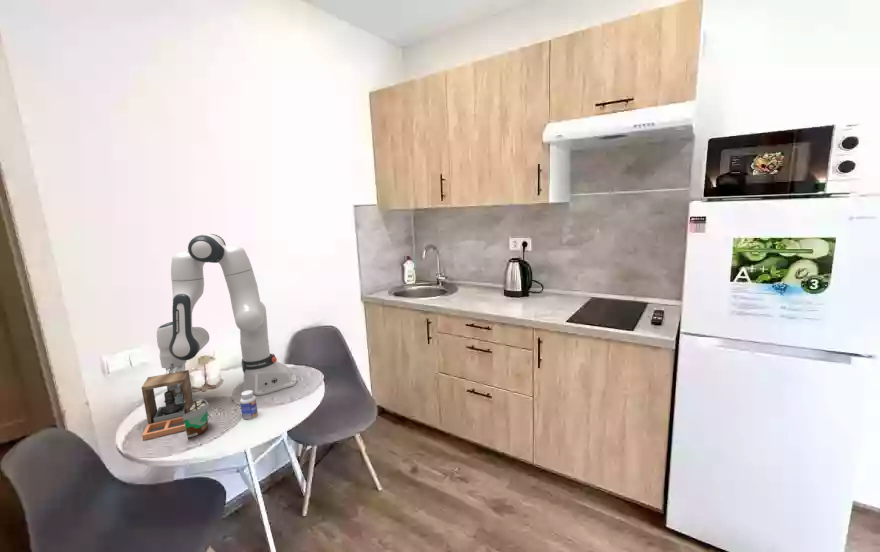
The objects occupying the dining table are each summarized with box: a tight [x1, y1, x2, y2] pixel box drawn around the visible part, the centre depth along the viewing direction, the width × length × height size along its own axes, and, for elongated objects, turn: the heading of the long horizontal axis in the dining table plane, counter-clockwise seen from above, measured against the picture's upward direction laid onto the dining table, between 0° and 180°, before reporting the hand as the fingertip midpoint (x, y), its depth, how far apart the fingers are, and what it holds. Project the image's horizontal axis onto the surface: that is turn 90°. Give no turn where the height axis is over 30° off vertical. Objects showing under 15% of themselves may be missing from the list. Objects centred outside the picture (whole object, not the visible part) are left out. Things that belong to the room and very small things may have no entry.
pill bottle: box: [239, 390, 258, 420], centre depth 146 cm, size 5×5×10 cm
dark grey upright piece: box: [162, 389, 181, 416], centre depth 147 cm, size 6×6×12 cm
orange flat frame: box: [141, 417, 186, 441], centre depth 140 cm, size 13×8×2 cm, turn 116°
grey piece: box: [154, 383, 192, 423], centre depth 155 cm, size 10×26×5 cm, turn 26°
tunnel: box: [141, 369, 194, 425], centre depth 147 cm, size 13×10×16 cm
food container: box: [183, 398, 210, 440], centre depth 138 cm, size 12×6×10 cm, turn 17°
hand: (178, 391), depth 163 cm, fingers closed
